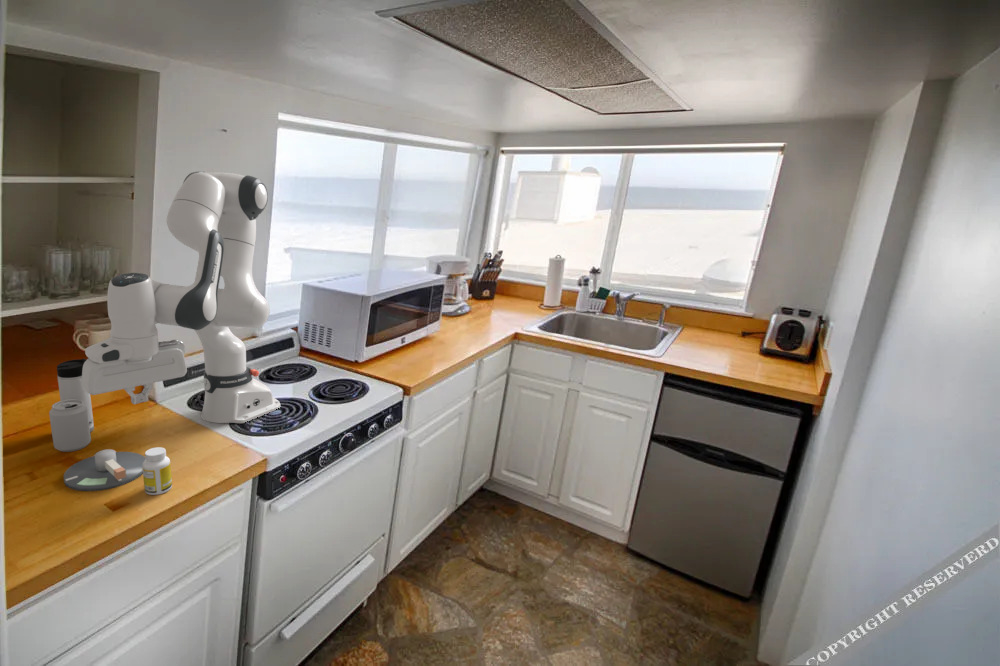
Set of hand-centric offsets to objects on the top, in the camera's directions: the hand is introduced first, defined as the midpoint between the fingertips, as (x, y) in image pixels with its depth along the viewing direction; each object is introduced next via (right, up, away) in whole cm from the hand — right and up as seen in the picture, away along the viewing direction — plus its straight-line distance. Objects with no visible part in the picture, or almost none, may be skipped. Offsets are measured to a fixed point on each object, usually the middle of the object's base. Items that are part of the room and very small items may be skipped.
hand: (139, 402), depth 123 cm
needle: (-7, -17, +1) cm, 18 cm away
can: (-26, -13, +13) cm, 32 cm away
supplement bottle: (+5, -20, -1) cm, 21 cm away
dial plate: (-10, -17, +3) cm, 21 cm away
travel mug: (-30, -11, +20) cm, 38 cm away
